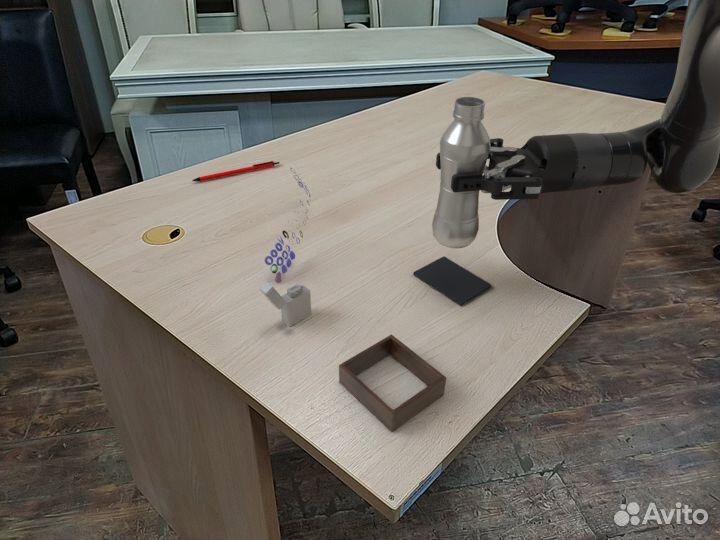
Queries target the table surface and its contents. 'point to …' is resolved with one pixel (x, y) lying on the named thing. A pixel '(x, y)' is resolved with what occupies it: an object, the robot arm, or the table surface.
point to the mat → (452, 280)
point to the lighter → (290, 302)
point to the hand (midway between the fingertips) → (444, 172)
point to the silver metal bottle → (461, 155)
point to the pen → (237, 171)
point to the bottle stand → (411, 362)
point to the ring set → (292, 254)
